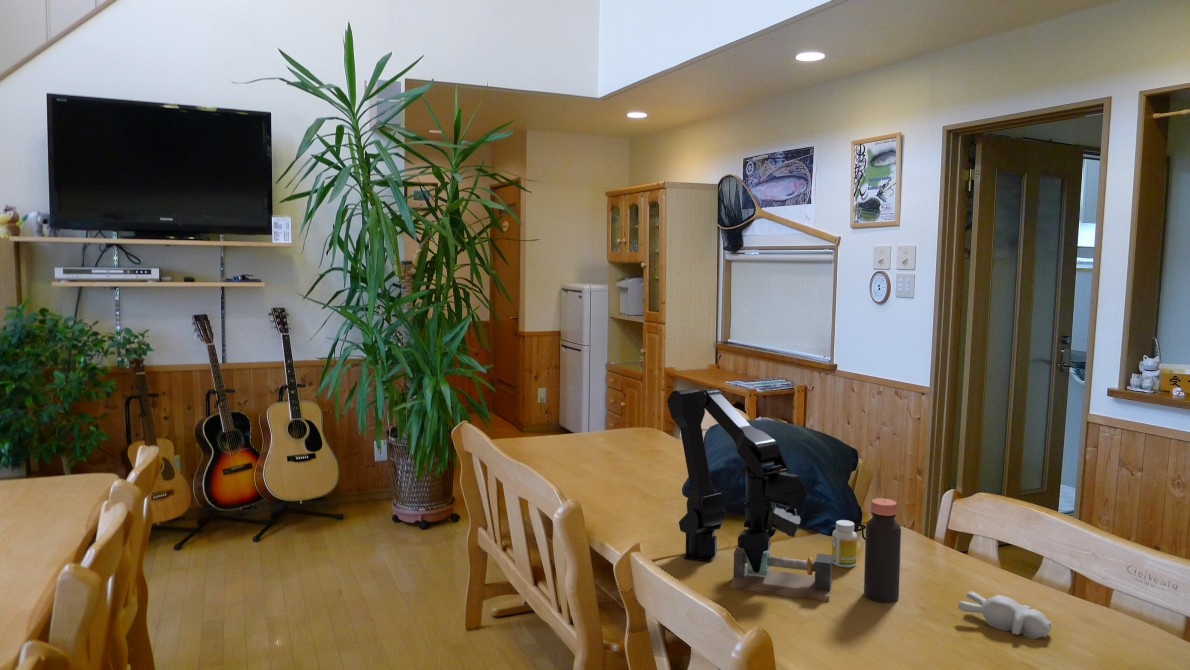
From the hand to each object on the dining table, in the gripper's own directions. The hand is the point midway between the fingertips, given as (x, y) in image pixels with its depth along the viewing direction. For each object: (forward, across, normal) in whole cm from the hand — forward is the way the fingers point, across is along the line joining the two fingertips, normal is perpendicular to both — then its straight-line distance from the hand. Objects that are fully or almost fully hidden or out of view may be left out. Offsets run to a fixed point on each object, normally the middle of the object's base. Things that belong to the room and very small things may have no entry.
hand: (758, 567), depth 171 cm
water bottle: (+3, +1, -25) cm, 25 cm away
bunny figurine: (+4, -5, -47) cm, 47 cm away
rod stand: (+3, 0, -5) cm, 6 cm away
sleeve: (+1, 0, 0) cm, 1 cm away
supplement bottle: (+3, +17, -17) cm, 24 cm away
